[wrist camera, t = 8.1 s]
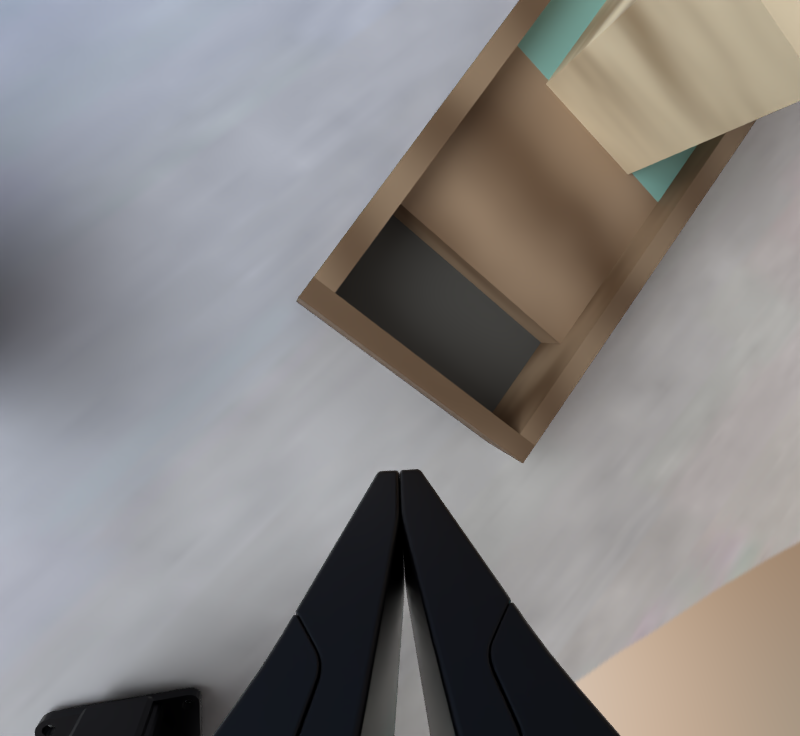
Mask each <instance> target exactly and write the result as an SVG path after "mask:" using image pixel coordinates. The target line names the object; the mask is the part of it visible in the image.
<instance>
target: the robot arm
mask: <svg viewBox="0 0 800 736" xmlns="http://www.w3.org/2000/svg"><path fill="white" fill-rule="evenodd" d="M399 477H400V479H399ZM404 570H405V583H406V592H407V599H408V605H409V611H410V617H411V623H412V629H413V635H414V641H415V647H416V653H417V659H418V665H419V671H420V677H421V683H422V689H423V695H424V700H425V706H426V712H427V718H428V724H429V730H430V736H620V735H619V733H617V731H616V730H615V729H614V728H613V726H612V725H611V724H610V723H609V722H608V721H607V720H606V718H605V717H604V716H603V715H602V714H601V713H600V712H599V710H598V709H597V708H596V707H595V706H594V705H593V703H591V701H590V700H589V699H588V698H587V697H586V696H585V694H584V693H583V692H582V691H581V690H580V689H579V687H578V686H577V685H576V684H575V683H574V681H573V680H572V679H571V678H570V677H569V675H568V674H567V673H566V672H565V670H564V669H563V668H562V667H561V666H560V664H559V663H558V662H557V661H556V660H555V658H554V657H553V656H552V655H551V654H550V652H549V651H548V650H547V648H546V647H545V646H544V644H543V643H542V642H541V640H540V639H539V638H538V636H537V635H536V634H535V632H534V631H533V630H532V628H531V627H530V625H529V624H528V623H527V621H526V620H525V619H524V617H523V616H522V614H521V613H520V611H519V610H518V608H517V607H516V606H515V604H514V603H511V599H510V597H509V596H508V595H507V593H506V592H505V590H504V589H503V587H502V586H501V585H500V583H499V582H498V580H497V579H496V577H495V576H494V575H493V573H492V572H491V570H490V569H489V567H488V566H487V565H486V563H485V562H484V560H483V559H482V557H481V556H480V555H479V553H478V552H477V550H476V549H475V547H474V546H473V545H472V543H471V542H470V540H469V539H468V537H467V536H466V535H465V533H464V532H463V530H462V529H461V527H460V526H459V525H458V523H457V522H456V520H455V519H454V517H453V516H452V515H451V513H450V512H449V510H448V509H447V507H446V506H445V505H444V503H443V502H442V500H441V499H440V497H439V496H438V495H437V493H436V492H435V490H434V489H433V487H432V486H431V485H430V483H429V482H428V480H427V479H426V477H425V476H424V475H423V473H422V472H421V471H420V470H418V469H412V470H402V471H400V474H399V472H398V471H395V470H394V471H380V472H378V473H377V475H376V476H375V478H374V480H373V482H372V483H371V485H370V487H369V488H368V490H367V492H366V493H365V495H364V497H363V498H362V500H361V502H360V504H359V505H358V507H357V509H356V510H355V512H354V514H353V515H352V517H351V519H350V520H349V522H348V524H347V526H346V527H345V529H344V531H343V532H342V534H341V536H340V537H339V539H338V541H337V542H336V544H335V546H334V548H333V549H332V551H331V553H330V554H329V556H328V558H327V559H326V561H325V563H324V564H323V566H322V568H321V570H320V571H319V573H318V575H317V576H316V578H315V580H314V581H313V583H312V585H311V586H310V588H309V590H308V592H307V593H306V595H305V597H304V598H303V600H302V602H301V603H300V605H299V607H298V608H297V610H296V615H294V616H293V617H292V618H291V620H290V622H289V623H288V625H287V627H286V628H285V630H284V632H283V634H282V635H281V637H280V639H279V640H278V642H277V643H276V645H275V646H274V648H273V650H272V651H271V653H270V654H269V656H268V658H267V659H266V661H265V662H264V664H263V666H262V667H261V669H260V670H259V672H258V673H257V674H256V676H255V677H254V679H253V680H252V682H251V683H250V684H249V686H248V687H247V689H246V690H245V692H244V693H243V694H242V696H241V697H240V699H239V700H238V702H237V703H236V704H235V706H234V707H233V709H232V710H231V711H230V713H229V714H228V715H227V717H226V718H225V719H224V721H223V722H222V724H221V725H220V726H219V728H218V729H217V730H216V732H215V733H214V734H213V736H394V730H395V716H396V702H397V688H398V674H399V661H400V647H401V633H402V619H403V605H404V586H405V584H404ZM186 700H192V702H190V703H189V702H185V701H186ZM48 725H53V726H55V727H49V726H48ZM35 736H202V711H201V693H200V691H199V690H198V689H196V688H186V689H180V690H174V691H169V692H163V693H157V694H151V695H145V696H140V697H134V698H128V699H122V700H117V701H111V702H105V703H99V704H93V705H88V706H82V707H76V708H70V709H64V710H59V711H53V712H50V713H47V714H46V715H45V716H43V718H42V719H41V721H40V722H39V724H38V726H37V727H36V729H35Z"/></svg>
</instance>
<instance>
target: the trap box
mask: <svg viewBox="0 0 800 736" xmlns="http://www.w3.org/2000/svg"><path fill="white" fill-rule="evenodd" d="M605 2H606V0H519V1H518V3H517V4H516V6H515V7H514V8H513V10H512V11H511V12H510V14H509V15H508V16H507V18H506V19H505V20H504V22H503V23H502V24H501V26H500V27H499V28H498V30H497V31H496V32H495V34H494V35H493V36H492V38H491V39H490V40H489V42H488V43H487V45H486V46H485V47H484V49H483V50H482V51H481V53H480V54H479V55H478V57H477V58H476V59H475V61H474V62H473V63H472V65H471V66H470V67H469V69H468V70H467V71H466V73H465V74H464V75H463V77H462V78H461V79H460V81H459V82H458V84H457V85H456V86H455V88H454V89H453V90H452V92H451V93H450V94H449V96H448V97H447V98H446V100H445V101H444V102H443V104H442V105H441V106H440V108H439V109H438V110H437V112H436V113H435V114H434V116H433V117H432V118H431V120H430V121H429V122H428V124H427V125H426V127H425V128H424V129H423V131H422V132H421V133H420V135H419V136H418V137H417V139H416V140H415V141H414V143H413V144H412V145H411V147H410V148H409V149H408V151H407V152H406V153H405V155H404V156H403V157H402V159H401V160H400V161H399V163H398V164H397V166H396V167H395V168H394V170H393V171H392V172H391V174H390V175H389V176H388V178H387V179H386V180H385V182H384V183H383V184H382V186H381V187H380V188H379V190H378V191H377V192H376V194H375V195H374V196H373V198H372V199H371V200H370V202H369V203H368V205H367V206H366V207H365V209H364V210H363V211H362V213H361V214H360V215H359V217H358V218H357V219H356V221H355V222H354V223H353V225H352V226H351V227H350V229H349V230H348V231H347V233H346V234H345V235H344V237H343V238H342V239H341V241H340V242H339V244H338V245H337V246H336V248H335V249H334V250H333V252H332V253H331V254H330V256H329V257H328V258H327V260H326V261H325V262H324V264H323V265H322V266H321V268H320V269H319V270H318V272H317V273H316V274H315V276H314V277H313V278H312V280H311V281H310V282H309V284H308V285H307V287H306V288H305V289H304V291H303V292H302V293H301V295H300V296H299V297H298V299H297V301H296V302H298V303H299V304H301V305H302V306H303V307H305V308H306V309H307V310H309V311H310V312H311V313H313V314H314V315H315V316H317V317H318V318H320V319H321V320H322V321H324V322H325V323H326V324H328V325H329V326H330V327H332V328H333V329H335V330H336V331H337V332H339V333H340V334H341V335H343V336H344V337H345V338H347V339H348V340H350V341H351V342H352V343H354V344H355V345H356V346H358V347H359V348H360V349H362V350H363V351H364V352H366V353H367V354H369V355H370V356H371V357H373V358H374V359H375V360H377V361H378V362H379V363H381V364H382V365H384V366H385V367H386V368H388V369H389V370H390V371H392V372H393V373H394V374H396V375H397V376H399V377H400V378H401V379H403V380H404V381H405V382H407V383H408V384H409V385H411V386H412V387H413V388H415V389H416V390H418V391H419V392H420V393H422V394H423V395H424V396H426V397H427V398H428V399H430V400H431V401H433V402H434V403H435V404H437V405H438V406H439V407H441V408H442V409H443V410H445V411H446V412H448V413H449V414H450V415H452V416H453V417H454V418H456V419H457V420H458V421H460V422H461V423H462V424H464V425H465V426H467V427H468V428H469V429H471V430H472V431H473V432H475V433H476V434H477V435H479V436H480V437H482V438H483V439H484V440H486V441H487V442H488V443H490V444H492V445H493V446H495V447H497V448H498V449H500V450H502V451H503V452H505V453H507V454H508V455H510V456H512V457H513V458H515V459H516V460H518V461H520V462H521V463H523V462H524V461H525V460H526V458H527V457H528V455H529V454H530V452H531V451H532V449H533V448H534V446H535V445H536V443H537V442H538V440H539V439H540V437H541V436H542V435H543V433H544V432H545V430H546V429H547V427H548V426H549V424H550V423H551V421H552V420H553V418H554V417H555V415H556V414H557V412H558V411H559V410H560V408H561V407H562V405H563V404H564V402H565V401H566V399H567V398H568V396H569V395H570V393H571V392H572V390H573V389H574V387H575V386H576V385H577V383H578V382H579V380H580V379H581V377H582V376H583V374H584V373H585V371H586V370H587V368H588V367H589V365H590V364H591V362H592V361H593V359H594V358H595V357H596V355H597V354H598V352H599V351H600V349H601V348H602V346H603V345H604V343H605V342H606V340H607V339H608V337H609V336H610V334H611V333H612V332H613V330H614V329H615V327H616V326H617V324H618V323H619V321H620V320H621V318H622V317H623V315H624V314H625V312H626V311H627V309H628V308H629V307H630V305H631V304H632V302H633V301H634V299H635V298H636V296H637V295H638V293H639V292H640V290H641V289H642V287H643V286H644V284H645V283H646V282H647V280H648V279H649V277H650V276H651V274H652V273H653V271H654V270H655V268H656V267H657V265H658V264H659V262H660V261H661V259H662V258H663V257H664V255H665V254H666V252H667V251H668V249H669V248H670V246H671V245H672V243H673V242H674V240H675V239H676V237H677V236H678V234H679V233H680V232H681V230H682V229H683V227H684V226H685V224H686V223H687V221H688V220H689V218H690V217H691V215H692V214H693V212H694V211H695V209H696V208H697V207H698V205H699V204H700V202H701V201H702V199H703V198H704V196H705V195H706V193H707V192H708V190H709V189H710V187H711V186H712V184H713V183H714V182H715V180H716V179H717V177H718V176H719V174H720V173H721V171H722V170H723V168H724V167H725V165H726V164H727V162H728V161H729V159H730V158H731V156H732V155H733V154H734V152H735V151H736V149H737V148H738V146H739V145H740V143H741V142H742V140H743V139H744V137H745V136H746V134H747V133H748V131H749V130H750V129H751V127H752V126H753V124H754V123H755V121H756V120H757V119H756V120H754V121H752V122H749V123H747V124H745V125H742V126H740V127H738V128H735V129H733V130H731V131H728V132H726V133H724V134H721V135H719V136H717V137H715V138H712V139H710V140H708V141H705V142H703V143H701V144H698V145H696V146H694V147H691V148H689V149H687V150H684V151H682V152H680V153H677V154H675V155H673V156H670V157H668V158H666V159H663V160H661V161H659V162H656V163H654V164H652V165H649V166H647V167H645V168H642V169H640V170H638V171H635V172H633V173H631V174H627V173H626V172H625V171H624V170H623V169H622V167H621V166H620V165H619V164H618V163H617V162H616V161H615V160H614V159H613V158H612V156H611V155H610V154H609V153H608V152H607V151H606V150H605V149H604V148H603V147H602V145H601V144H600V143H599V142H598V141H597V140H596V139H595V138H594V137H593V135H592V134H591V133H590V132H589V131H588V130H587V129H586V128H585V127H584V126H583V124H582V123H581V122H580V121H579V120H578V119H577V118H576V117H575V116H574V115H573V113H572V112H571V111H570V110H569V109H568V108H567V107H566V106H565V105H564V103H563V102H562V101H561V100H560V99H559V98H558V97H557V96H556V95H555V94H554V92H553V91H552V90H551V89H550V88H549V87H548V86H547V85H546V83H547V82H548V80H549V79H550V78H551V76H552V75H553V73H554V72H555V71H556V69H557V68H558V67H559V65H560V64H561V62H562V61H563V60H564V58H565V57H566V55H567V54H568V53H569V51H570V50H571V49H572V47H573V46H574V44H575V43H576V42H577V40H578V39H579V38H580V36H581V35H582V33H583V32H584V31H585V29H586V28H587V26H588V25H589V24H590V22H591V21H592V20H593V18H594V17H595V15H596V14H597V13H598V11H599V10H600V8H601V7H602V6H603V4H604V3H605Z"/></svg>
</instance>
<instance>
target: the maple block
mask: <svg viewBox="0 0 800 736" xmlns="http://www.w3.org/2000/svg"><path fill="white" fill-rule="evenodd" d="M546 85H547V86H548V87H549V88H550V89H551V90H552V91H553V92H554V94H555V95H556V96H557V97H558V98H559V99H560V100H561V101H562V102H563V103H564V105H565V106H566V107H567V108H568V109H569V110H570V111H571V112H572V113H573V115H574V116H575V117H576V118H577V119H578V120H579V121H580V122H581V123H582V124H583V126H584V127H585V128H586V129H587V130H588V131H589V132H590V133H591V134H592V135H593V137H594V138H595V139H596V140H597V141H598V142H599V143H600V144H601V145H602V147H603V148H604V149H605V150H606V151H607V152H608V153H609V154H610V155H611V156H612V158H613V159H614V160H615V161H616V162H617V163H618V164H619V165H620V166H621V167H622V169H623V170H624V171H625V172H626V173H627V174H631V173H633V172H635V171H638V170H640V169H642V168H645V167H647V166H649V165H652V164H654V163H656V162H659V161H661V160H663V159H666V158H668V157H670V156H673V155H675V154H677V153H680V152H682V151H684V150H687V149H689V148H691V147H694V146H696V145H698V144H701V143H703V142H705V141H708V140H710V139H712V138H715V137H717V136H719V135H721V134H724V133H726V132H728V131H731V130H733V129H735V128H738V127H740V126H742V125H745V124H747V123H749V122H752V121H754V120H756V119H759V118H761V117H763V116H766V115H768V114H770V113H773V112H775V111H777V110H780V109H782V108H784V107H787V106H789V105H791V104H794V103H796V102H798V101H800V0H606V2H605V3H604V4H603V6H602V7H601V8H600V10H599V11H598V13H597V14H596V15H595V17H594V18H593V20H592V21H591V22H590V24H589V25H588V26H587V28H586V29H585V31H584V32H583V33H582V35H581V36H580V38H579V39H578V40H577V42H576V43H575V44H574V46H573V47H572V49H571V50H570V51H569V53H568V54H567V55H566V57H565V58H564V60H563V61H562V62H561V64H560V65H559V67H558V68H557V69H556V71H555V72H554V73H553V75H552V76H551V78H550V79H549V80H548V82H547V83H546Z"/></svg>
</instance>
